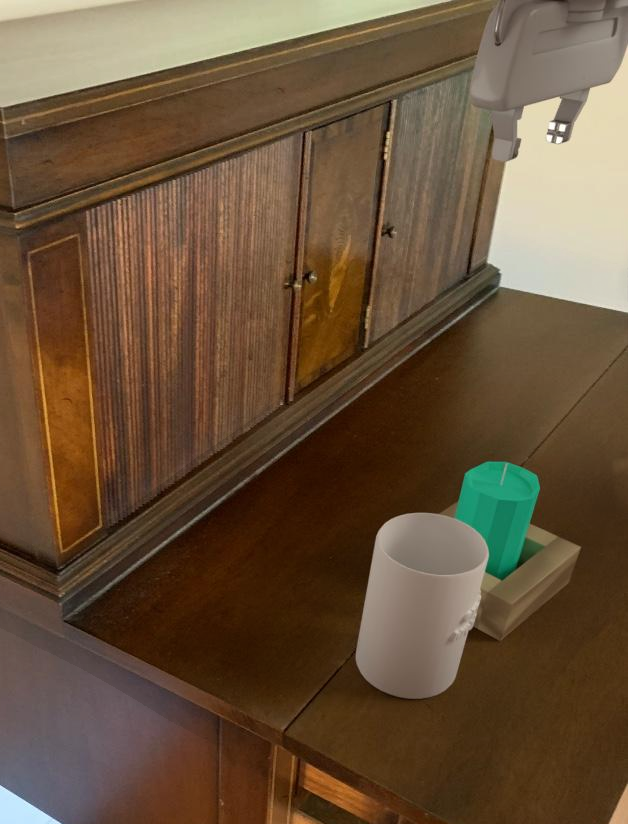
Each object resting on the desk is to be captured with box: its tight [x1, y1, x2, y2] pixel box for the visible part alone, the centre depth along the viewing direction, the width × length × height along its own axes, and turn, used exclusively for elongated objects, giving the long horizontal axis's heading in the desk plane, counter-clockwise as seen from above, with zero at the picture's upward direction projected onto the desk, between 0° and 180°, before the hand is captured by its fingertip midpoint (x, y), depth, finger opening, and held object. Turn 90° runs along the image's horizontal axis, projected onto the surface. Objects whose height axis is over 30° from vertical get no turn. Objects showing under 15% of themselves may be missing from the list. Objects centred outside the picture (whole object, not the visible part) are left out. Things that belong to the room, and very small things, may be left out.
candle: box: [455, 461, 541, 581], centre depth 78 cm, size 6×6×12 cm
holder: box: [438, 500, 582, 642], centre depth 81 cm, size 11×11×4 cm
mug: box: [355, 512, 489, 700], centre depth 71 cm, size 8×12×12 cm
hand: (531, 150), depth 85 cm, fingers open, 8 cm apart
